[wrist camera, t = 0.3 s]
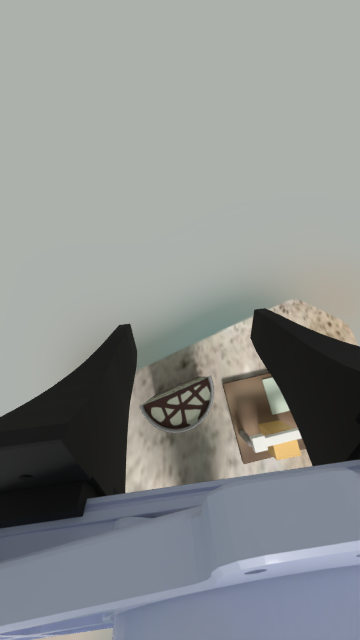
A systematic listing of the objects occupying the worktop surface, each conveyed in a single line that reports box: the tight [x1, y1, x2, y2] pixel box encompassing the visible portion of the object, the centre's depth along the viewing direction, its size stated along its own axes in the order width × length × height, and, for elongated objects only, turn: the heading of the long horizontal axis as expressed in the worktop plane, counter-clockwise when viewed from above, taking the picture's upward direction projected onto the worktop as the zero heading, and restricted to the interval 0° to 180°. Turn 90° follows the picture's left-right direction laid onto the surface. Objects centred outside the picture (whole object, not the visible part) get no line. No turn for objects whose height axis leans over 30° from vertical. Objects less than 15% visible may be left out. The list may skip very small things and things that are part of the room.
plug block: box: [258, 420, 301, 460], centre depth 35 cm, size 4×4×5 cm
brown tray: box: [223, 373, 306, 464], centre depth 36 cm, size 14×14×6 cm
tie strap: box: [249, 428, 302, 453], centre depth 32 cm, size 2×13×1 cm, turn 102°
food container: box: [140, 375, 214, 433], centre depth 35 cm, size 12×6×10 cm, turn 112°
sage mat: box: [262, 377, 290, 415], centre depth 39 cm, size 6×6×1 cm
